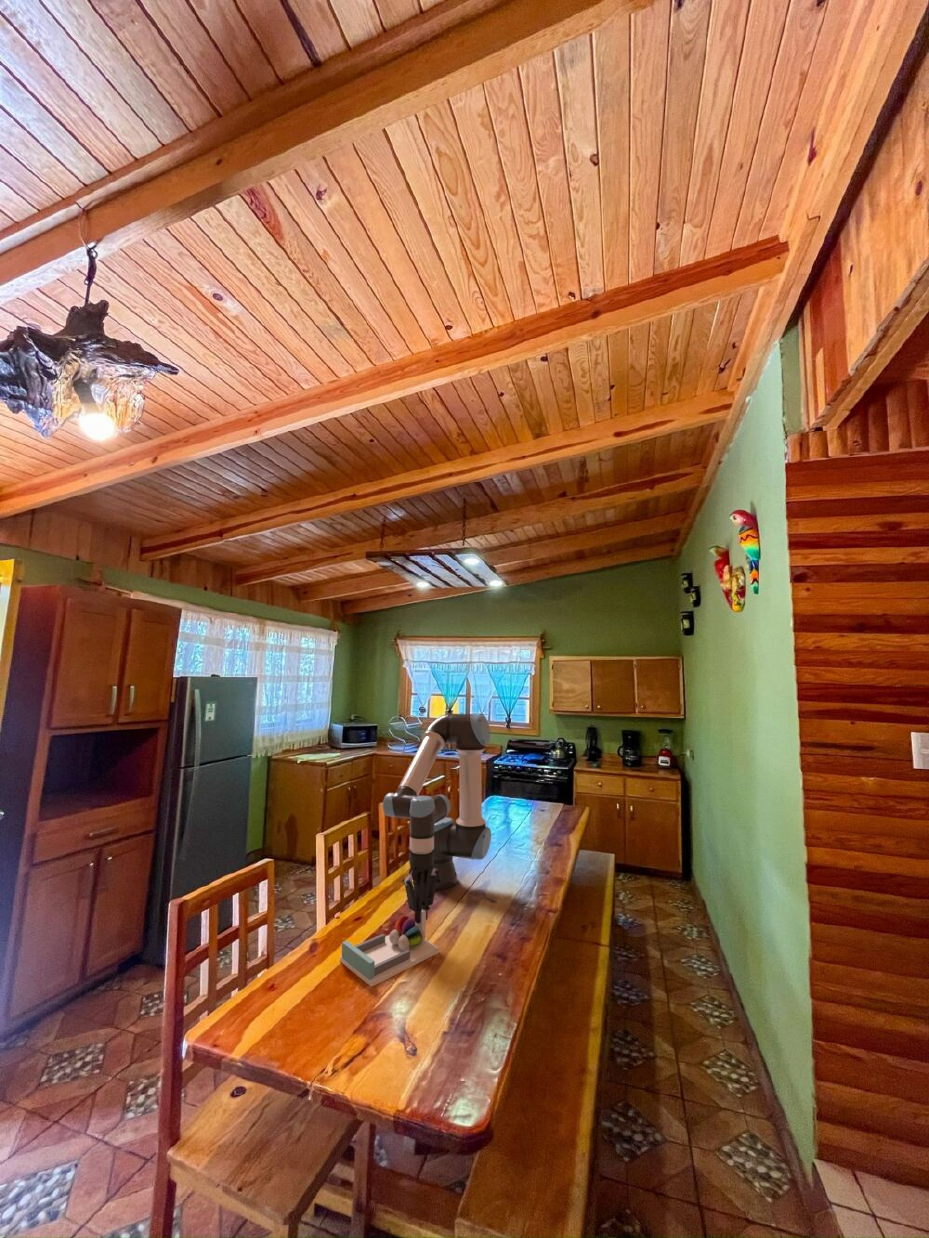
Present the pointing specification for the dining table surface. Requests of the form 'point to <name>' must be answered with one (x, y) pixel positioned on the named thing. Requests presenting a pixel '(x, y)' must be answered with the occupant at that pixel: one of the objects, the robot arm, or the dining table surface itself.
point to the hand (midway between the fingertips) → (420, 932)
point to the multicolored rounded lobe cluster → (406, 933)
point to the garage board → (383, 958)
